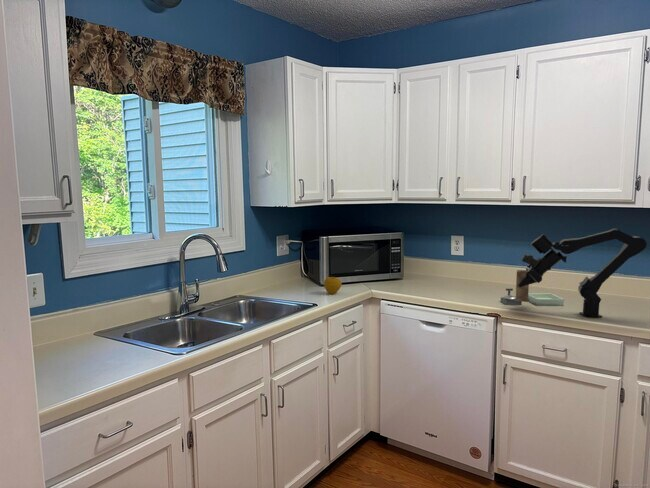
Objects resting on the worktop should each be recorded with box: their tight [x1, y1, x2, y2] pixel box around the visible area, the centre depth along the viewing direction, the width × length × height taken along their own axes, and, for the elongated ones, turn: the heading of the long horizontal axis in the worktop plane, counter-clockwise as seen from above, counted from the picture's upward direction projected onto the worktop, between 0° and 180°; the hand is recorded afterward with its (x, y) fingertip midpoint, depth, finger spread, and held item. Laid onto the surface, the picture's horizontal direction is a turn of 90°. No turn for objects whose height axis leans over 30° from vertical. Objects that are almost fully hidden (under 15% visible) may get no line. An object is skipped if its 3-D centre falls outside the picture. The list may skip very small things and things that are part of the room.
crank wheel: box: [503, 288, 516, 300], centre depth 221 cm, size 6×6×4 cm
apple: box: [323, 276, 342, 295], centre depth 242 cm, size 9×9×9 cm
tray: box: [528, 292, 565, 307], centre depth 223 cm, size 12×12×3 cm
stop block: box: [515, 269, 530, 303], centre depth 209 cm, size 5×5×13 cm
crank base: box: [500, 296, 523, 306], centre depth 222 cm, size 7×7×2 cm
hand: (519, 285), depth 209 cm, fingers closed on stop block, 5 cm apart
